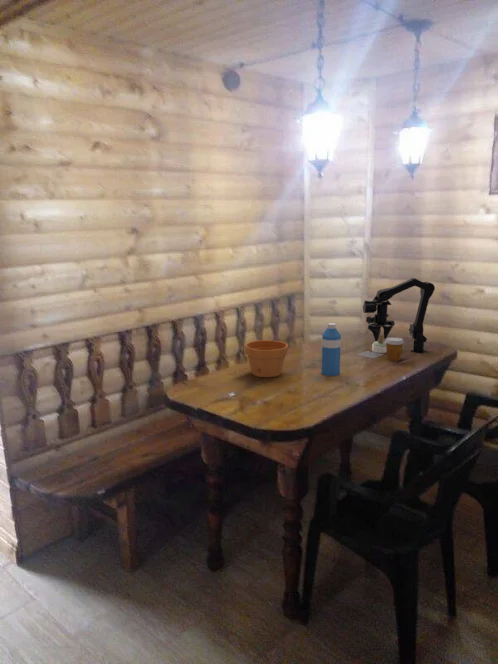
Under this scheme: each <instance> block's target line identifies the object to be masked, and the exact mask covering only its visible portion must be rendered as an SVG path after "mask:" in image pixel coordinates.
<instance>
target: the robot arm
mask: <svg viewBox="0 0 498 664" xmlns="http://www.w3.org/2000/svg"><path fill="white" fill-rule="evenodd" d="M413 287H417V288H418V289H419V288H420V291H419V294H420V299H419V304H418V306H417V311H416V315H415V320H414V322H413V323H410V324H409V328H408V334H409V335H410V336H411V337H412V339H413V349H411V350H410V351H411V352H414V353H420V354H423V353H425V352H427V349H425V343H426V342H427V340H428V339H427V337H426V336H425V335H424V321H425V316H426V314H427V310H428V309H427V308H428V306H429V301H430V299H431V297H432V296H433V294H434V292H435V289H436V287H435V285H434V284H433V283H432V282H430V281H421V280H419V279H417V278H415V277H411V278H410V279H408V280H406V281H403V282H401V283H398V284H397V285H394V286H392V287H387V288H383V289H379V290H377V291H376V295H375V296H374V297H373V299H372V300H364V301H363V305H362V311H363V313H364V314H374V316H372V317H371V316H366V318H365V322H366V323H367V324H368V326H367V330H369V331H370V332H372V335H373V338H374V342H376V341H378V338H379V336H380V334H381V331H382V330H381V329H383V339H385V340H386V338H388V335H389V334H390V332H391V331H392V329H393V328H394V326H395V321H394V320H393V319H391V320H390V319H388V317H389V315H390V314H388V306H391V305H392V303H391V302H390V299H391V298H393V297H394V296H395V295H396V294H399V293H401V292H404V291H406V290H409V289H410V288H413ZM375 312H376V314H375Z"/></svg>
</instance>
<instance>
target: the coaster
mask: <svg viewBox="0 0 498 664" xmlns="http://www.w3.org/2000/svg"><path fill="white" fill-rule="evenodd" d="M384 355H385V354H384V353H377V352H373V351H372V350H371V351H369V350H366V351H362V352H360V353H357V354H356V356H361V357H366V358H370V359H375V358H378V357H381V356H384Z"/></svg>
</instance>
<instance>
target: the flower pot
mask: <svg viewBox="0 0 498 664" xmlns="http://www.w3.org/2000/svg"><path fill="white" fill-rule="evenodd" d="M288 349H289V347H288V343H286V342H283V341H279V340H271V339H270V340H268V339H266V340H265V339H264V340H263V339H262V340H261V339H260V340H253V341H249V342H246V343H245V344H244V350H245V354H246V356H247V359H248V364H249V367H250V371H251V374H252V375H253V376H255V377H258V378H274V377H275V378H276V377H278V376H280V375H281V374H282V372H283V368H284V362H285V358H286V355H287V354H288Z"/></svg>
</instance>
